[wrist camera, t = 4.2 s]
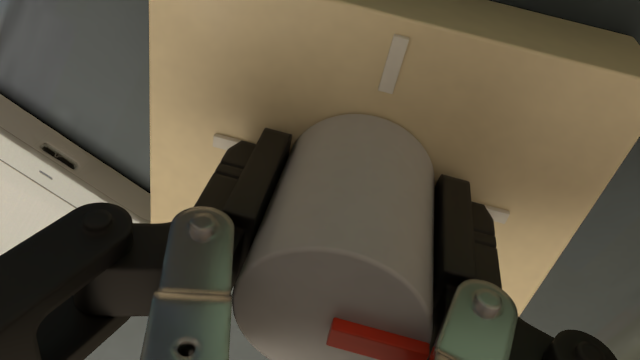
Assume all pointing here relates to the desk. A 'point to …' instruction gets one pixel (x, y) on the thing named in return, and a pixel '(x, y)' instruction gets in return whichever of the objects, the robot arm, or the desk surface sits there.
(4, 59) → the desk surface
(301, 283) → the dial
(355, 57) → the panel
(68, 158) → the hard drive
